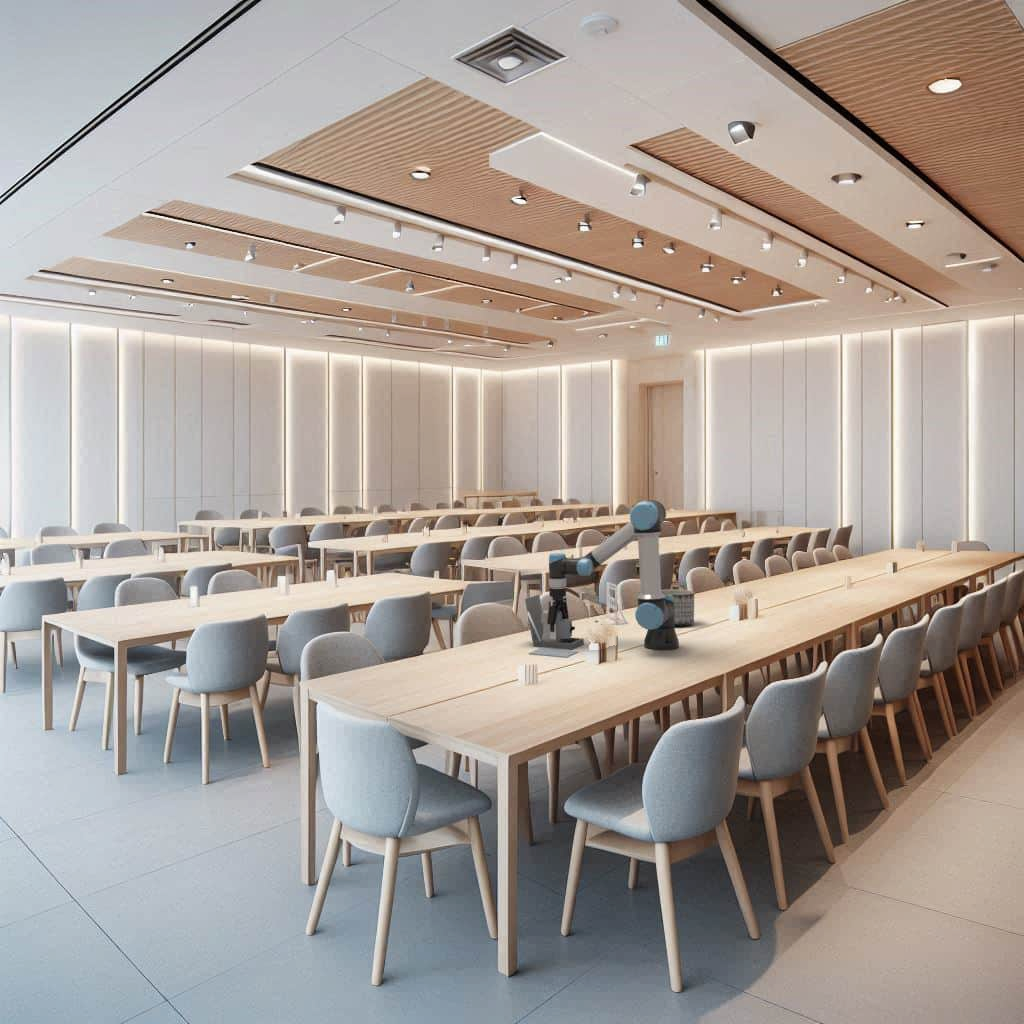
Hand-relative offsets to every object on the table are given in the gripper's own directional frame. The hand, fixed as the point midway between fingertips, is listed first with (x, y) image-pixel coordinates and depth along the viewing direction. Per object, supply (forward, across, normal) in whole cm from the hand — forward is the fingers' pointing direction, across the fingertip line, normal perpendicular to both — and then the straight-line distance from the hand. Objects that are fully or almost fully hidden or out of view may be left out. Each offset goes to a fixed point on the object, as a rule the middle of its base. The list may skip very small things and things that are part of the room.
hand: (558, 636), depth 383 cm
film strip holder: (+4, -62, +1) cm, 62 cm away
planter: (+4, -68, +33) cm, 76 cm away
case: (+4, +1, -2) cm, 4 cm away
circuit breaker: (+4, 0, 0) cm, 4 cm away
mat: (+4, +16, +5) cm, 17 cm away
